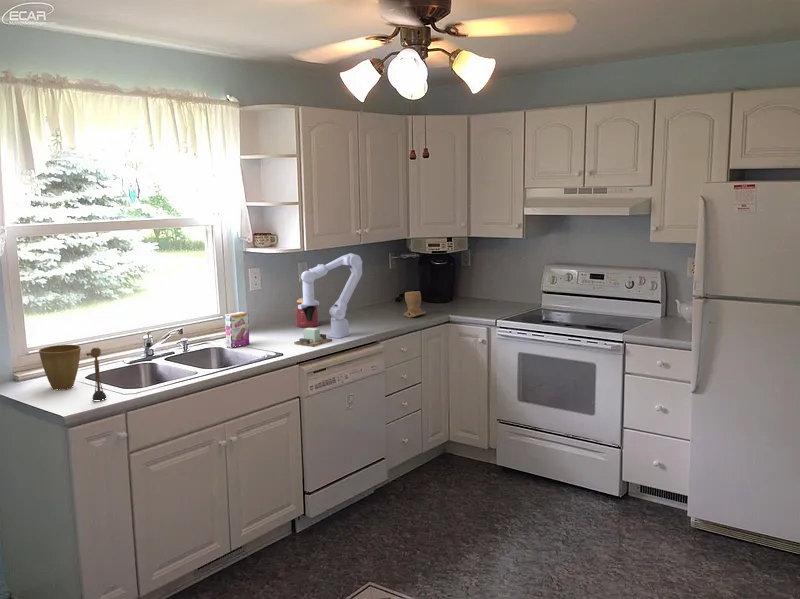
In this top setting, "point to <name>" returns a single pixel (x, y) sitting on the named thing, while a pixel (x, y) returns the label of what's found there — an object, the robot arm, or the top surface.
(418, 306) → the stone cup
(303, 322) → the canister
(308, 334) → the module
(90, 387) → the top surface
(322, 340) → the rail board
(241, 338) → the candy bar box
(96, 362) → the wooden tabletop sculpture
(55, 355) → the plant pot
